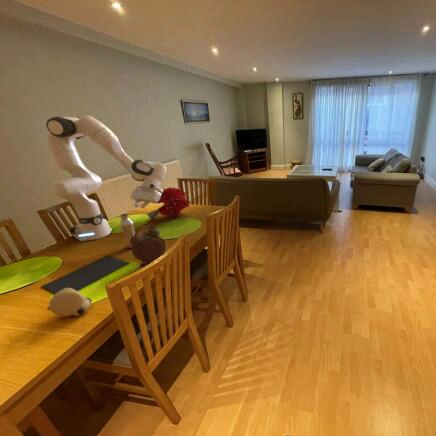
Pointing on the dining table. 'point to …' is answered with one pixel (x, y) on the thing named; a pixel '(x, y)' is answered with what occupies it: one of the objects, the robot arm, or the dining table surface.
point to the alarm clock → (147, 245)
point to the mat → (85, 274)
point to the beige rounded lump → (69, 303)
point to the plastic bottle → (127, 228)
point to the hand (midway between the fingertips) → (139, 207)
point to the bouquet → (170, 203)
